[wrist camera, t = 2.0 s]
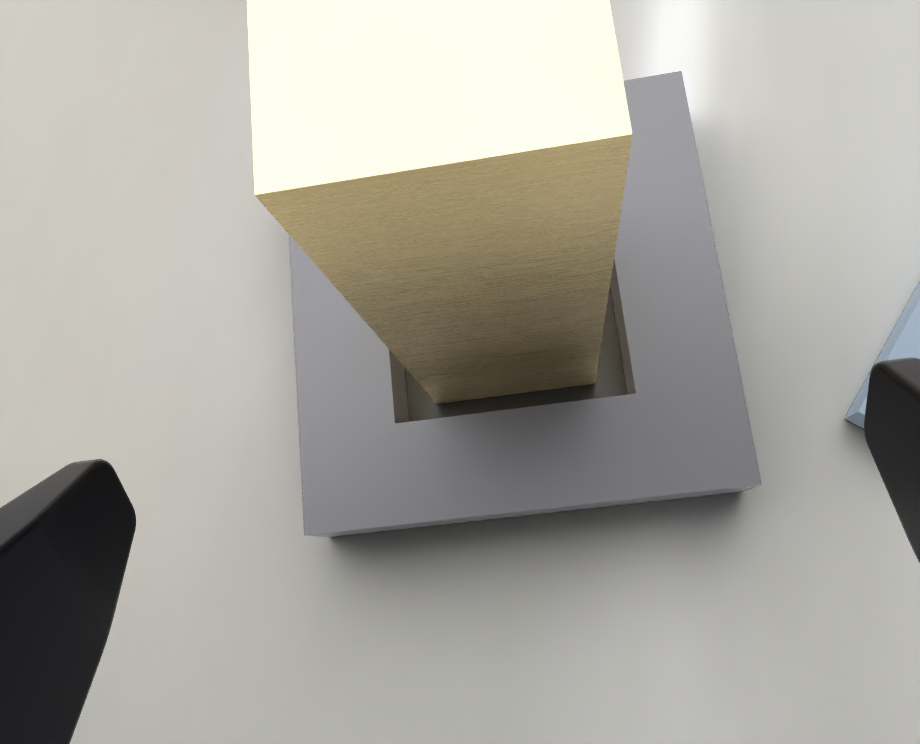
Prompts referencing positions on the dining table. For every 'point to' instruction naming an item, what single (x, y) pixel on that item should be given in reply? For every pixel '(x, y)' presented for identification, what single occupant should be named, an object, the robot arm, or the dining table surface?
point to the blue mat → (893, 351)
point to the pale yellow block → (450, 175)
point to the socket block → (553, 425)
